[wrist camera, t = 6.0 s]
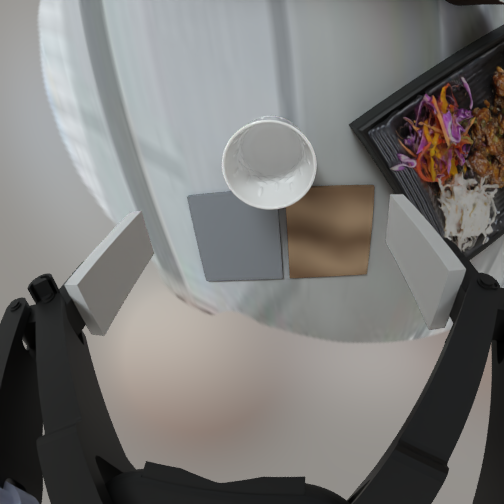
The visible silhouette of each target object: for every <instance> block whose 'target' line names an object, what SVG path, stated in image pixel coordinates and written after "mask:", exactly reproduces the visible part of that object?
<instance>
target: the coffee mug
mask: <svg viewBox="0 0 504 504" xmlns="http://www.w3.org/2000/svg"><path fill="white" fill-rule="evenodd" d="M446 1H447V2H449V3H451V4H453V5H458V6H462V5H482V4H504V0H446Z"/></svg>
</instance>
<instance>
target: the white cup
mask: <svg viewBox="0 0 504 504" xmlns="http://www.w3.org/2000/svg"><path fill="white" fill-rule="evenodd" d="M316 170H317V162H316V156H315V152H314V149H313V147H312V145H311V143H310V142H309V140H308V139H307V138H306V136H305V135H304V134H303V133H302V132H301V130H300V129H299V128H298V127H297V126H296V125H294V124H293V123H292V122H290V121H289V120H287V119H285V118H282V117H278V116H274V115H271V116H264V117H260V118H257V119H255V120H253V121H251V122H250V123H248V124H247V125H245V126H244V127H242V128H241V129H239V130H238V131H237V132H236V133H235V134H234V135H233V136H232V137H231V138H230V140H229V141H228V143H227V145H226V147H225V149H224V152H223V157H222V171H223V176H224V179H225V181H226V183H227V185H228V187H229V188H230V190H231V191H232V192H233V194H234V195H235V196H236V197H238V198H239V199H240V200H241V201H243V202H244V203H246V204H248V205H250V206H253V207H256V208H260V209H267V210H274V209H281V208H285V207H287V206H290V205H292V204H294V203H296V202H297V201H299V200H300V199H301V198H302V197H303V196H304V195H305V194H306V193H307V192H308V191H309V189H310V188H311V186H312V184H313V182H314V179H315V176H316Z"/></svg>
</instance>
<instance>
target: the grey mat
mask: <svg viewBox="0 0 504 504" xmlns="http://www.w3.org/2000/svg"><path fill="white" fill-rule="evenodd" d="M187 199H188V203H189V208H190V213H191V217H192V222H193V226H194V231H195V235H196V240H197V244H198V248H199V253H200V257H201V261H202V265H203V269H204V273H205V278H206V281H225V280H256V279H283V272H282V257H281V243H280V229H279V216H278V209H274V210H267V209H260V208H256V207H253V206H250V205H248V204H246V203H244V202H243V201H241V200H240V199H239V198H238V197H236V196H235V195H234V194H233V192H232V191H230V192H218V193H208V194H198V195H189V196H188V197H187Z"/></svg>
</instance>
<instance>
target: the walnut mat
mask: <svg viewBox="0 0 504 504" xmlns="http://www.w3.org/2000/svg"><path fill="white" fill-rule="evenodd" d="M374 188H375V186H374V185H335V186H311V188H310V189H309V191H308V192H307V193H306V194H305V195H304V196H303V197H302V198H301V199H300V200H299V201H297V202H296V203H294V204H292V205H290V206H287V207H286V217H287V233H288V251H289V270H290V278H306V277H326V276H345V275H362V274H367V267H368V259H369V250H370V241H371V230H372V219H373V205H374Z"/></svg>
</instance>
